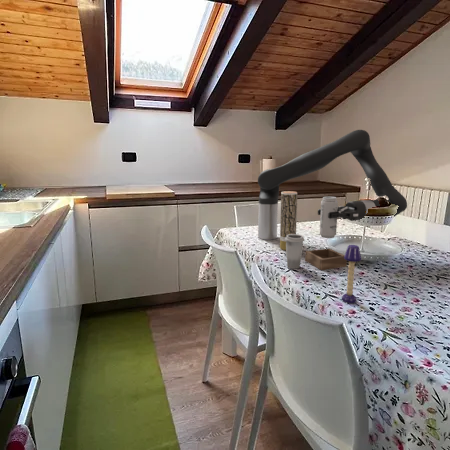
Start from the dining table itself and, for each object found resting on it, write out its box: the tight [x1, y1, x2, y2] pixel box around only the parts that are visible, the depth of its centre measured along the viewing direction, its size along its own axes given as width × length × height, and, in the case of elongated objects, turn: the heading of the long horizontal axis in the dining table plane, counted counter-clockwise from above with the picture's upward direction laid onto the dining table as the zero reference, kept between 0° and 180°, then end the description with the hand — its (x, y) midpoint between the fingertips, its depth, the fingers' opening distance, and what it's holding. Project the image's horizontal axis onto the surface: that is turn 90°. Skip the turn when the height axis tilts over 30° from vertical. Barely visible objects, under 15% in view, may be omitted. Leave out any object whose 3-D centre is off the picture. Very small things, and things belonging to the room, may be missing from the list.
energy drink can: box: [319, 195, 339, 239], centre depth 128 cm, size 6×6×15 cm
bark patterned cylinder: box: [279, 190, 298, 251], centre depth 148 cm, size 7×7×25 cm
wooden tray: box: [304, 247, 347, 271], centre depth 132 cm, size 11×11×4 cm
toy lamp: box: [341, 244, 362, 304], centre depth 100 cm, size 5×5×17 cm
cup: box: [285, 233, 305, 270], centre depth 128 cm, size 7×7×12 cm
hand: (323, 213), depth 127 cm, fingers closed on energy drink can, 6 cm apart
